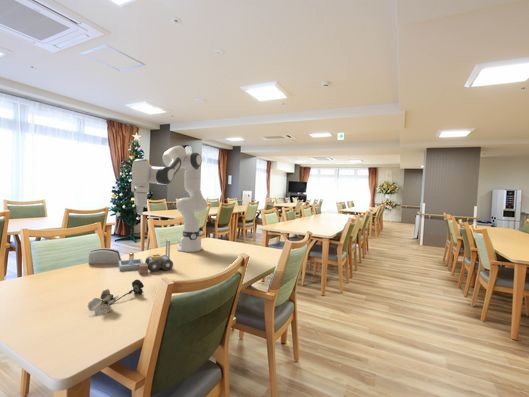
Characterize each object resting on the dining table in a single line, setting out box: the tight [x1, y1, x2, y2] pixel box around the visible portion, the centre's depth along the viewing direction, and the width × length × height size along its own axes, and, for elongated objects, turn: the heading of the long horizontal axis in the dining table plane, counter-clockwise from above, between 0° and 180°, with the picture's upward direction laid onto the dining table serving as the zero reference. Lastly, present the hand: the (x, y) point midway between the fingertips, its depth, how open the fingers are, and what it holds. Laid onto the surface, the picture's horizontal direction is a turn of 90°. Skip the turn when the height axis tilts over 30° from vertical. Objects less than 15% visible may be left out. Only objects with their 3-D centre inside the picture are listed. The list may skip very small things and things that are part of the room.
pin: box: [128, 252, 135, 265], centre depth 153 cm, size 2×2×7 cm
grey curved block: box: [88, 247, 123, 264], centre depth 158 cm, size 17×5×10 cm, turn 101°
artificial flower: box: [87, 279, 145, 317], centre depth 107 cm, size 9×22×10 cm, turn 158°
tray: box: [117, 258, 144, 272], centre depth 154 cm, size 12×12×2 cm
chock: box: [137, 262, 149, 275], centre depth 145 cm, size 5×4×4 cm
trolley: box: [144, 238, 174, 273], centre depth 153 cm, size 13×12×16 cm
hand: (139, 213), depth 147 cm, fingers open, 8 cm apart
